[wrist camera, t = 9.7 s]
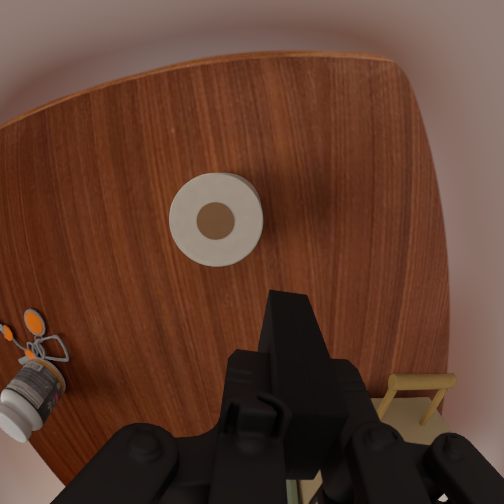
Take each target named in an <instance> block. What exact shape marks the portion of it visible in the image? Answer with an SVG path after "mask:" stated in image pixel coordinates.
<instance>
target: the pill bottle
mask: <svg viewBox="0 0 504 504" xmlns="http://www.w3.org/2000/svg"><path fill="white" fill-rule="evenodd" d="M40 358H41V357H39V358H36V357H34V358H31V359H30V360H29V361H28V362H27V363H26V364H25V365H24V366H23V368H22V369H21V370H20V371H19V372H18V374H17V375H16V376H15V377H14V378H13V379H12V380H11V382H10V383H9V384H8V385H7V386H6V388H5V389H4V390H3V391H2V393H1V402H2V404H0V427H1V428H2V429H3V430H4V431H5V432H6V433H7V434H8V435H9V436H11V437H12V438H14V439H15V440H17V441H19V442H22V443H25V442H27V440H28V439H29V437H30V436H31V430H33V431H35V430H39V429H40V428H41V427H42V426H43V424H44V423H45V421H46V419H47V418H48V416H49V415H50V413H51V412H52V410H53V408H54V407H55V405H56V404H57V402H58V401H59V399H60V398H61V396H62V395H63V393H64V391H65V389H66V384H65V380H64V378H63V376H62V374H61V373H60V371H59V370H58V369H57V368H56V367H55V366H54V365H53V364H52V363H50V362H49V361H48V360H46V359H44V360H41V359H40Z"/></svg>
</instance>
